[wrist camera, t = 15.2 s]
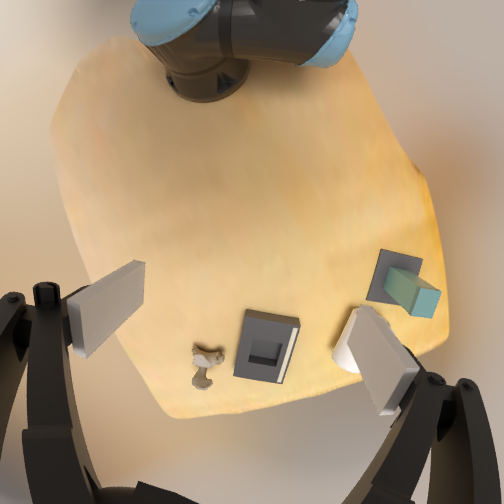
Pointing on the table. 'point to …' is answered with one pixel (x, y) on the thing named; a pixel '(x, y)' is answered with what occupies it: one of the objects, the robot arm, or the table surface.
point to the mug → (342, 351)
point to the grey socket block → (266, 346)
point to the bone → (204, 366)
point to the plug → (412, 292)
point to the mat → (381, 272)
